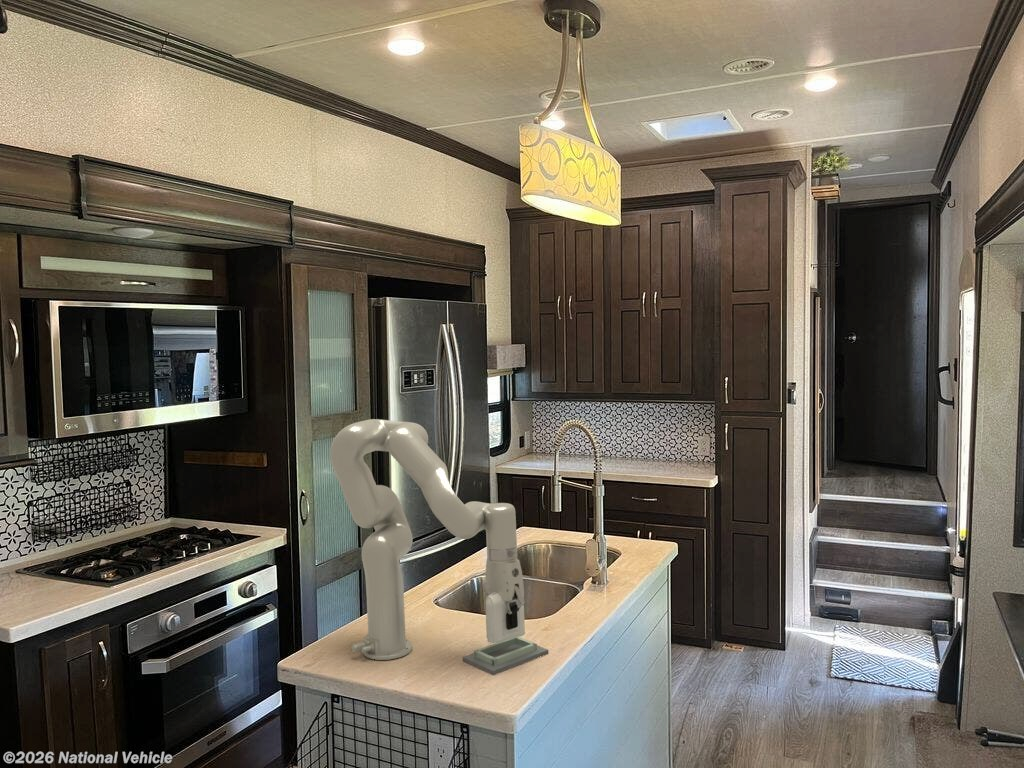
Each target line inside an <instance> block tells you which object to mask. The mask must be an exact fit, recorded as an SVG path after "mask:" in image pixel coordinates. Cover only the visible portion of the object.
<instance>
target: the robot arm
mask: <svg viewBox="0 0 1024 768" xmlns="http://www.w3.org/2000/svg"><path fill="white" fill-rule="evenodd" d="M428 443H429V435H428V431H427V430H426V429H425V428H424V427H423V426H422V425H421V424H418V423H416V422H411V421H400V420H399V421H397V420H389V419H381V418H380V419H379V418H376V419H375V418H372V419H370V418H369V419H366V420H361V421H357V422H354V423H351V424H348V425H346V426H345V427H343V428H342V429H341V430H339V432H338V433H337V434H336V435H335V436H334V438H333V440H332V443H331V446H330V449H329V450H330V451H329V457H330V459H329V460H330V463H331V466H332V468H333V471H334V473H335V476H336V478H337V480H338V483H339V485H340V487H341V491H342V493H343V497H344V499H345V502H346V504H347V506H348V509H349V511H350V512H349V513H350V515H351V517H352V519H353V520H352V521H354V522H355V524H356V525H357V527H358V526H359V528H361V529H362V528H363V529H371V528H373V529H374V530H375V531H374V532H372V533H371V534H370V535H369V536H368V537H367V538H366V539H365V540H364V542H363V544H362V547H361V561H362V565H363V571H364V577H365V591H366V592H365V593H366V610H367V611H366V613H367V614H366V615H367V635H365V636H364V640H362V641H361V642H357V643H354V644H352V645H351V651H352V653H358V652H360V651H361V653H363V656H364V657H365V658H368V659H371V660H374V659H375V660H374V661H376V660H377V661H386V660H387V661H388V660H394V659H399V658H402V657H404V656H406V655H408V654H410V653H411V652H412V650H413V643H412V641H410V640H409V639H407V637H406V636H407V635H406V616H405V614H406V613H405V592H404V591H405V590H404V578H403V572H402V569H401V563H400V560H401V559H402V558H404V557H405V556H406V555H407V554H408V553H409V552H410V550H411V548H412V545H413V533H412V531H411V527H410V523H409V522H408V519H407V517H406V514H405V512H404V509H403V507H402V504H401V501H400V499H399V497H398V496H397V494H396V492H395V491H394V490H392V489H391V488H390V487H388V486H386V485H383V484H376V483H377V482H376V481H375V479H374V476H373V472H372V471H371V469H370V467H369V465H368V464H367V462H365V460H364V456H365V455H366V454H370V453H372V452H375V451H377V452H379V451H380V452H389V455H390V456H392V458H393V459H395V461H396V462H397V464H399V466H400V467H402V469H403V470H405V472H406V473H407V474H408V475H409V477H411V478H412V481H414V482H415V483H416V484H417V486H418V487H419V488H420V490H421V492H422V494H423V497H424V499H425V500H426V503H427V504H428V506H429V508H430V511H432V514H434V516H435V518H437V520H438V521H439V522H440V523H441V524H442V525H443V526H444V527H445V529H447V530H448V532H449V533H451V535H453V536H455V537H456V538H458V539H461V540H468V539H471V538H473V537H475V536H476V535H477V534H478V533H479V532H481V531H484V530H485V535H486V536H485V537H486V538H485V539H486V556H487V557H486V560H485V561H486V562H485V588H484V590H483V591H484V594H485V596H486V597H487V596H489V595H490V594H492V593H494V592H495V593H498V594H499V595H500V596H501V598H502V600H503V601H506V606H507V611H508V613H507V614H506V625H507V629H508V630H510V629H513V628H516V627H518V617H517V612H518V611H519V609H520V607H521V606H522V605H524V606H525V604H526V601H525V598H524V599H523V597H525V585H524V579H523V578H524V577H523V571H522V567H521V561H520V559H518V555H519V554H518V543H517V520H516V519H517V517H516V508H515V506H514V505H513V504H511V503H507V502H497V503H489V502H482V501H477V500H476V501H472V500H471V501H469V502H466V503H465V504H464V502H463V501H461V499H460V498H459V497H458V495H457V494H456V492H455V491H454V490H453V488H452V486H451V484H450V480H449V472H448V467H447V465H446V464H445V462H444V461H443V460H442V459H441V458H440V457H439V456H438V455H437V454H436V453H435V451H434V450H433V449H431V447H430V446H429V445H428ZM512 597H513V599H512ZM512 602H513V606H512V607H511V603H512Z"/></svg>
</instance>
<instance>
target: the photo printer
mask: <svg viewBox="0 0 1024 768" xmlns="http://www.w3.org/2000/svg"><path fill="white" fill-rule="evenodd" d="M524 597H525V596H524ZM524 597H523V599H524V600H525V598H524ZM512 599H513V597H512ZM484 603H485V626H486V627H485V628H486V629H485V630H486V632H485V633H486V640H487V642H488V643H490V644H494V643H498V642H502V641H505V640H509V639H513V638H516V637H522V636H525V633H526V631H525V630H526V629H525V627H526V626H525V604H524V605H522V606H521V607H520V609H519V611H518V612H517V617H518V627H516V628H513V629H510V630H508V629H507V625H506V614H507V613H508V611H507V606H506V601H503V600H502V598H501V596H500V595H499V594H498V593H495V592H494V593H492V594H490V595H489V596H487V595H486V597H485V601H484ZM512 606H513V602H512V603H511V607H512Z"/></svg>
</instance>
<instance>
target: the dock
mask: <svg viewBox="0 0 1024 768" xmlns="http://www.w3.org/2000/svg"><path fill="white" fill-rule="evenodd" d="M548 654H549V649H547V648H545V647H542V646H540V645H538V643H535V642H532V641H530V640H528V639H526V638H522V636H520V637H516V638H513V639H509V640H505V641H502V642H498V643H491V644H490V645H489V644H488V645H486V646H483V647H481V648H478V649H475V650H473V652H472V653H469V654H467V655H464V656H462V662H465V663H467V664H469V665H471V666H473V667H475V668H478V669H480V670H482V671H484V672H486V673H488V674H489V675H492V676H495V675H497V674H500V673H503V672H505V671H508V670H510V669H513V668H515V667H518V666H520V665H523V664H526V663H528V662H532V661H533V660H535V659H539V658H541V657H543V655H544V656H546V655H548ZM540 656H541V657H540ZM538 657H539V658H538Z"/></svg>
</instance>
